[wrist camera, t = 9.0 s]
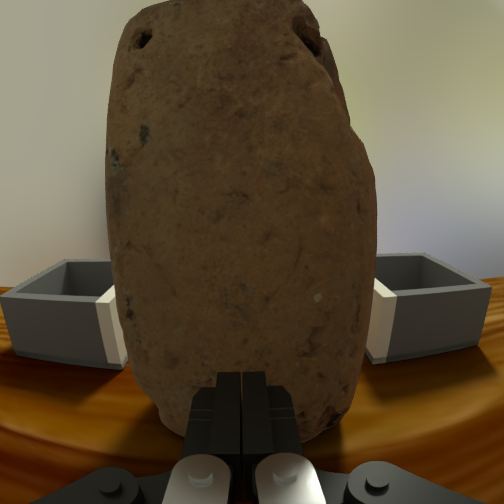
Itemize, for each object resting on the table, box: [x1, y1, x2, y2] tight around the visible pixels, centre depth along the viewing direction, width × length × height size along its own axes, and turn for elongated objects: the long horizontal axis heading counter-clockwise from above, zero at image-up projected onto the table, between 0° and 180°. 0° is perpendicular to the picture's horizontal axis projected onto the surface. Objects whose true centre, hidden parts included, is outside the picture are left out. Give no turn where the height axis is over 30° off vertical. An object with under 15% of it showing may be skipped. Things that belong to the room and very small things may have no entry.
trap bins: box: [0, 253, 492, 370], centre depth 24 cm, size 37×11×5 cm, turn 92°
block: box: [105, 0, 377, 443], centre depth 14 cm, size 11×8×20 cm
